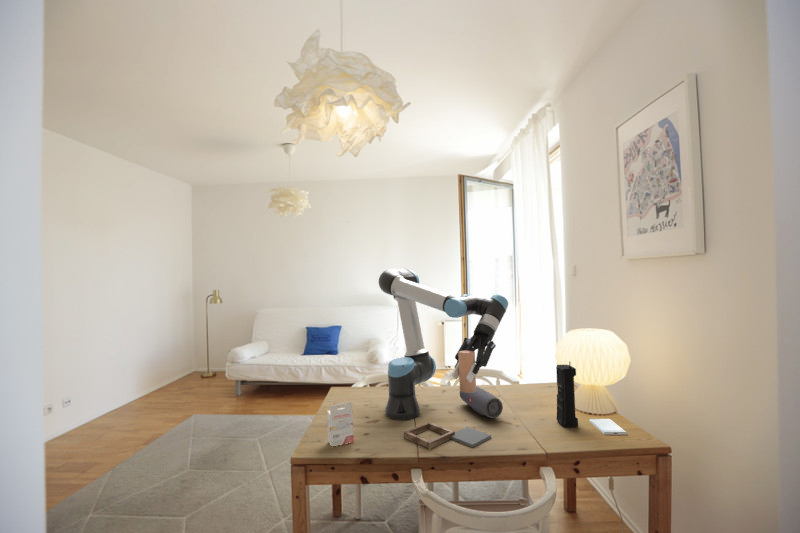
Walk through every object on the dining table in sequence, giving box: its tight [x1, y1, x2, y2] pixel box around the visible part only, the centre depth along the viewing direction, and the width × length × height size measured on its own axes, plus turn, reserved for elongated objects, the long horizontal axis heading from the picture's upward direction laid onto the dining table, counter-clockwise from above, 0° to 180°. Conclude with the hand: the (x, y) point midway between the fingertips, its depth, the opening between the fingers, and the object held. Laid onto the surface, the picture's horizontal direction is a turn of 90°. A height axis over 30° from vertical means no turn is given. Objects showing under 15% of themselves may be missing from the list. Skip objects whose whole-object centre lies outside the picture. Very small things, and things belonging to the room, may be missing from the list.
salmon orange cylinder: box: [457, 350, 477, 393], centre depth 138 cm, size 6×6×14 cm
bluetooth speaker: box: [459, 385, 504, 419], centre depth 163 cm, size 23×9×10 cm, turn 18°
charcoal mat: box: [450, 426, 492, 449], centre depth 137 cm, size 11×11×1 cm
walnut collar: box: [403, 421, 456, 449], centre depth 139 cm, size 13×13×2 cm
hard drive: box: [588, 418, 628, 436], centre depth 142 cm, size 2×8×12 cm
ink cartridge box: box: [326, 402, 355, 447], centre depth 137 cm, size 9×5×15 cm, turn 114°
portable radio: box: [556, 362, 579, 428], centre depth 148 cm, size 8×6×25 cm
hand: (461, 378), depth 135 cm, fingers closed on salmon orange cylinder, 6 cm apart
